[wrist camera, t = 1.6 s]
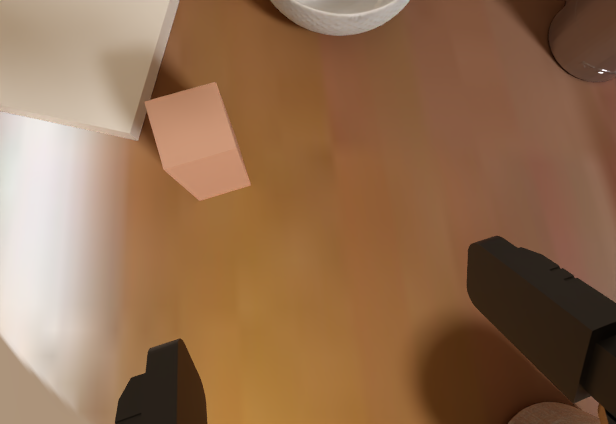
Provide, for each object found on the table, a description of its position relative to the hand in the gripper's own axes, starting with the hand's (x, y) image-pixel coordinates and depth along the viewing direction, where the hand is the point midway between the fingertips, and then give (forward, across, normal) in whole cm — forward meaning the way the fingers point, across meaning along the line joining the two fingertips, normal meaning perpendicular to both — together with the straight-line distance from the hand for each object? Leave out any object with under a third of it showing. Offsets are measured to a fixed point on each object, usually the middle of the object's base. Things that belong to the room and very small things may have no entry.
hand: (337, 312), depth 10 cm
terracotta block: (+29, +3, +5) cm, 29 cm away
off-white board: (+39, +12, -8) cm, 42 cm away
